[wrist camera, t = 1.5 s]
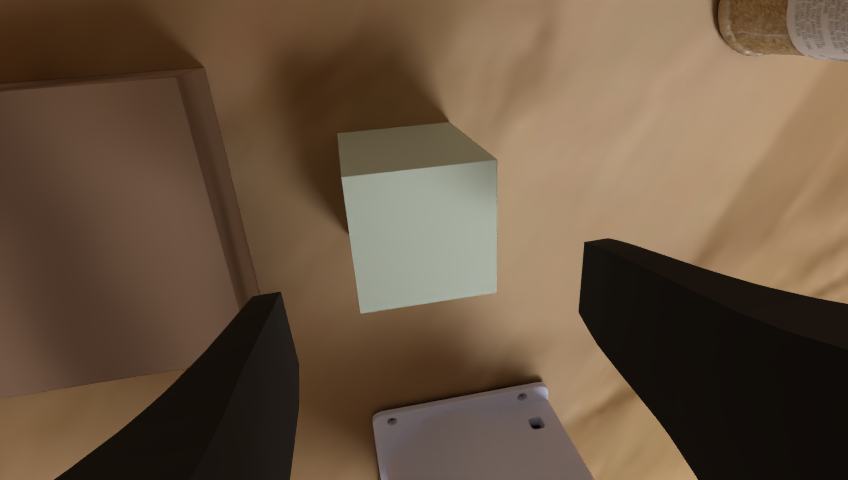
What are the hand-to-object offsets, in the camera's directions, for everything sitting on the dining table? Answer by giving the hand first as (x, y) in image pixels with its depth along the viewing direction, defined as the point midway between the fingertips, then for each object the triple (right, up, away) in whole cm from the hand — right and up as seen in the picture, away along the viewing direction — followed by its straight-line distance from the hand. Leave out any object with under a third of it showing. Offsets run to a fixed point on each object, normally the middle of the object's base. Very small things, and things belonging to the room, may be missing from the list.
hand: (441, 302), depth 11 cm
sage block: (-1, +4, +9) cm, 10 cm away
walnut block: (-13, +2, +7) cm, 15 cm away
